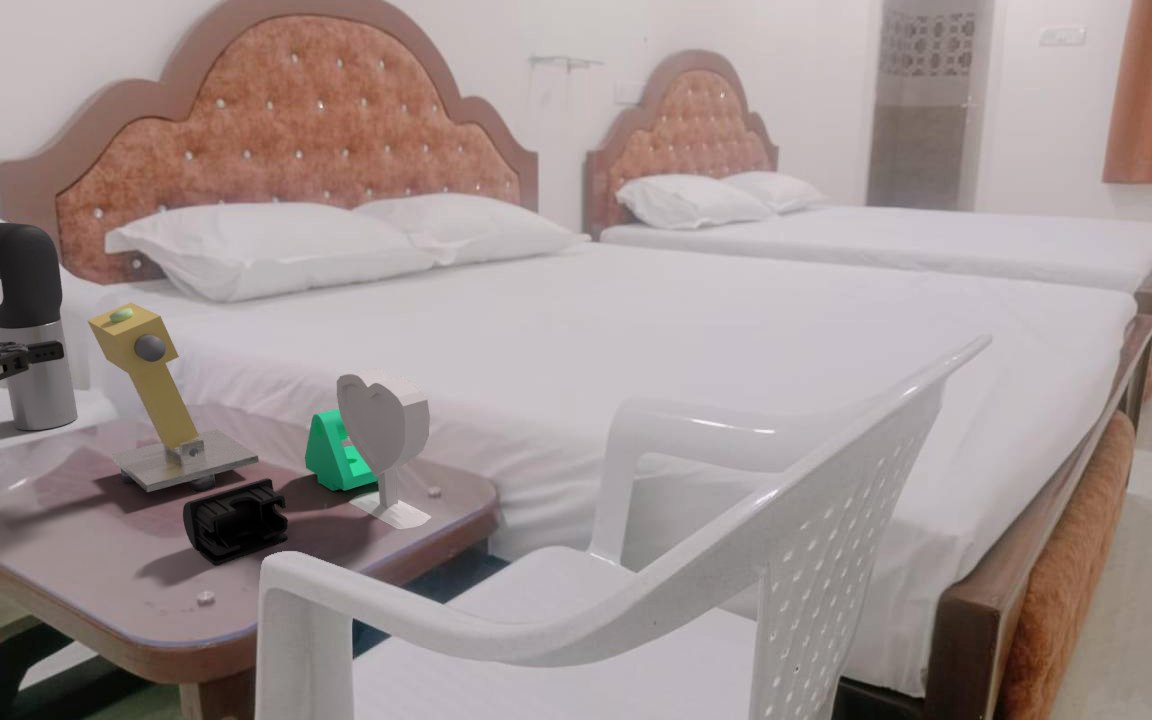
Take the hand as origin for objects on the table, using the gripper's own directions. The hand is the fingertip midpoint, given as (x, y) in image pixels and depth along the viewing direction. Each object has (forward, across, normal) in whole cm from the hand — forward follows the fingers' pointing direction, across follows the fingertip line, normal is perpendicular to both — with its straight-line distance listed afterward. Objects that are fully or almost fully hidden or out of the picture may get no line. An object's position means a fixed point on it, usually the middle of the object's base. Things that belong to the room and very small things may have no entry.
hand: (61, 349), depth 113 cm
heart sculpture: (+28, +30, -21) cm, 46 cm away
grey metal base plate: (+13, 0, -21) cm, 25 cm away
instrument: (+13, 0, -16) cm, 21 cm away
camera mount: (+29, +18, -21) cm, 40 cm away
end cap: (+10, +26, -21) cm, 35 cm away
